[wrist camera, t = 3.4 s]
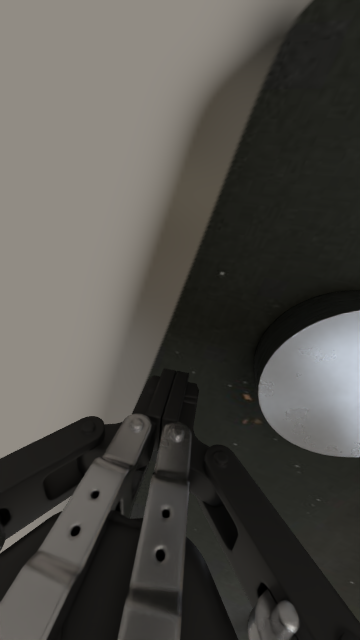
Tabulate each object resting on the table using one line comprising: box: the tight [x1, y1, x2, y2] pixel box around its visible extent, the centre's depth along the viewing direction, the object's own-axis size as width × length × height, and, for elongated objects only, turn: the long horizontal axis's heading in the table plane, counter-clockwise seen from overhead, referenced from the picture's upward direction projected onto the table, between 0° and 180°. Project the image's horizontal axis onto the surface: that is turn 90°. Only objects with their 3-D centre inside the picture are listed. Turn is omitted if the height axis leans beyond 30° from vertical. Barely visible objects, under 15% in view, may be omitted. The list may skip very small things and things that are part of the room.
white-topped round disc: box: [254, 291, 360, 457], centre depth 16 cm, size 11×11×3 cm
